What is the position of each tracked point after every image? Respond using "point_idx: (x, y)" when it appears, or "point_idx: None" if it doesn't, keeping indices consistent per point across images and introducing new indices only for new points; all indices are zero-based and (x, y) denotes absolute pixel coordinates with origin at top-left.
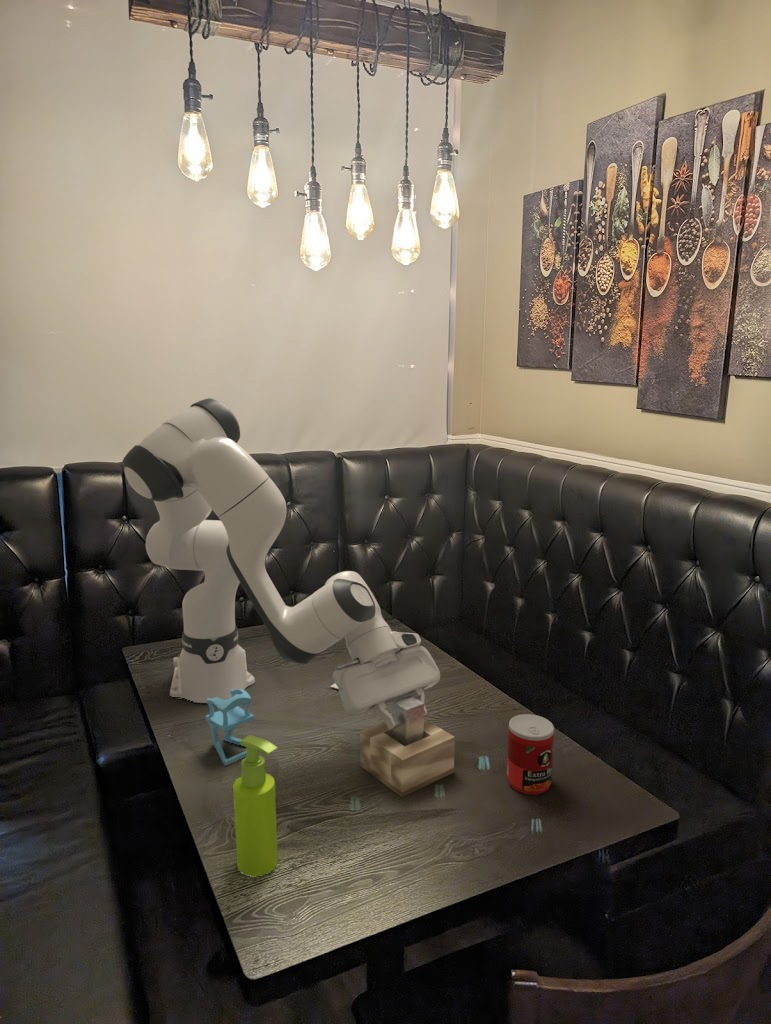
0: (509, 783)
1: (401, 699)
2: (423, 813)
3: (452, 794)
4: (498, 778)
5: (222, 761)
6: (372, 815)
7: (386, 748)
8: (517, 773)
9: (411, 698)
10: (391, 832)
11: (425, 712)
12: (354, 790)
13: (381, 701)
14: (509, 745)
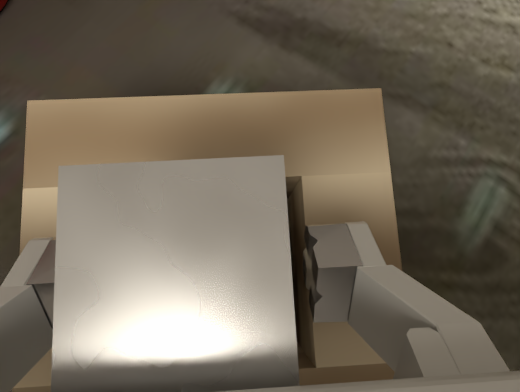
0: (4, 2)
1: (190, 372)
2: (326, 51)
3: (191, 70)
4: (6, 49)
5: None
6: (462, 129)
7: (392, 214)
8: None
9: (87, 328)
10: (452, 39)
11: (52, 237)
12: (452, 273)
13: (492, 374)
14: None
